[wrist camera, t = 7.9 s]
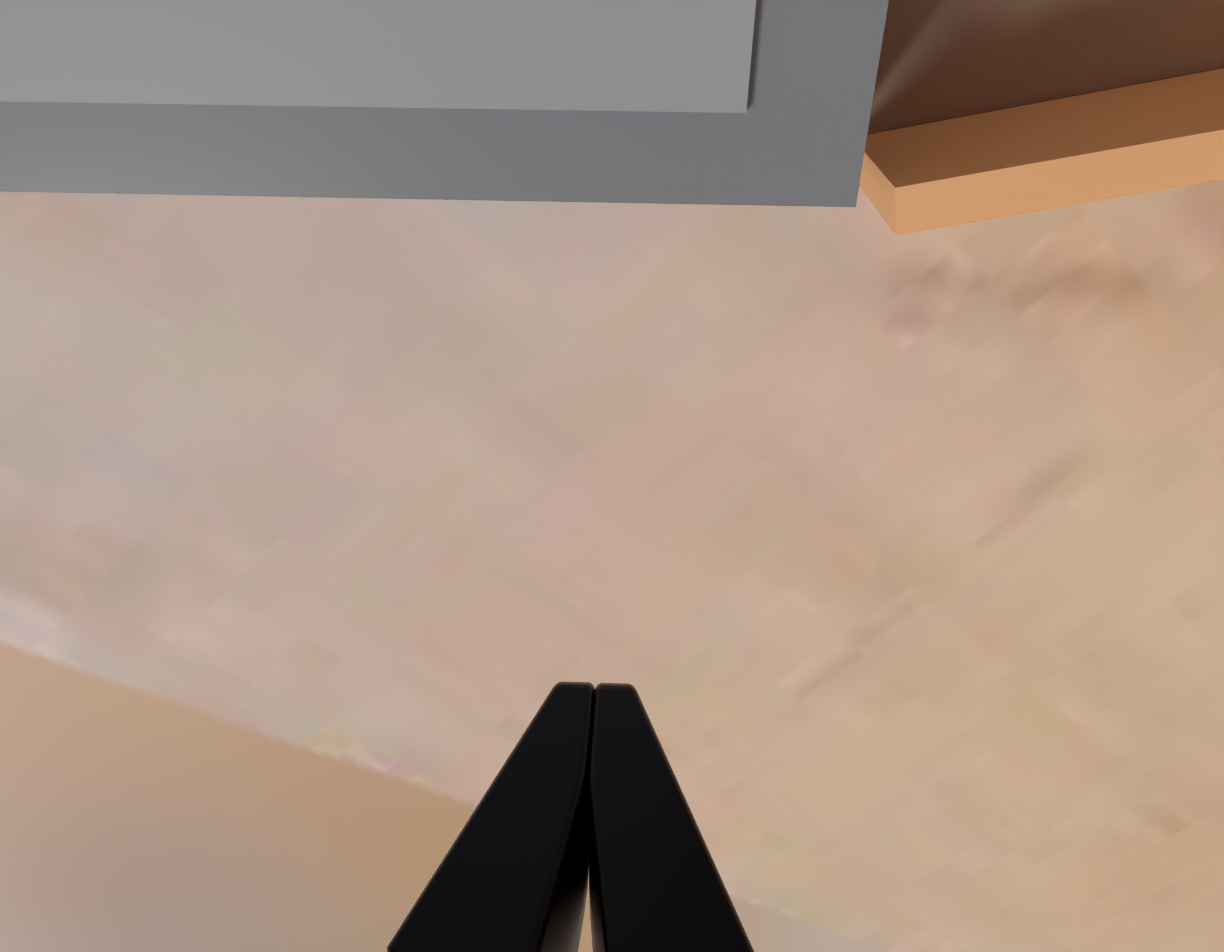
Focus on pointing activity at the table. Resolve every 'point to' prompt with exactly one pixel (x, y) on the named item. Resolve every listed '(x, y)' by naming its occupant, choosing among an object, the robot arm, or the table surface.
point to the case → (441, 99)
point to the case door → (1048, 154)
